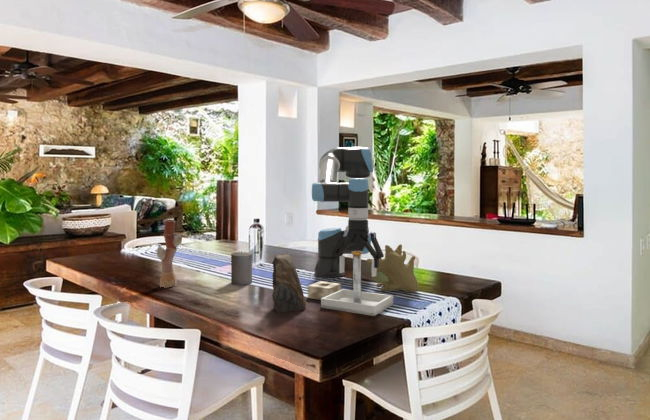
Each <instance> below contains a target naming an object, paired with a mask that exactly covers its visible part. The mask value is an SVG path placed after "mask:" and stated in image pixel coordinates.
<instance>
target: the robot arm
mask: <svg viewBox="0 0 650 420" xmlns="http://www.w3.org/2000/svg"><path fill="white" fill-rule="evenodd" d="M372 155H373V154H372V151H371V148H369V147H363V146H351V147H350V146H347V147H346V146H344V147H342V146H341V147H340V146H339V147H334V148H332V149H329V150H328V151H326V152H325V153H324V154H323V155H322V156H321V157H320V159H319V162H318V167H319V175H318V176H319V177H318V182H314V183H312V185H311V198H312V201H314V202H321V203H324V202H325V203H326V202H327V203H328V202H334V203H335V202H338V203H339V202H341V203H346V202H347V203H348V211H347V212H348V215H347V216H348V220H347V222H348V223H347V224H348V225H346V227H345V230H342V228H341V227H332V228H331V227H329V228H325V229H321V230H319V231H318V237H317V261H316V265H315V268H314V275H315V276H316V277H322V278H338V277H343V276H344V275H345V257H346V256H345V255H353V254H352V251H362V254H361V255H366V254H368V253H369V254H370V255H371V257H372V258H371V259H372V265H371V269H372V273H371V277H372V278H373V277H377V273H378V272H377V268H378V267H379V258H381V259H383V258H385V254H384V253H383V250H382V249H381V245H380V244H379V242H378V241H379V240H378V239H377V233H376V232H372V231H371V230H370V227H369V220H368V219H369V189H370V188H369V179H368V178H369V177H370V176H371V173H374V165H373V157H372ZM338 173H345V177H346V178H347V179H348V182H337V180H338ZM372 245H373V246H372ZM376 272H377V273H376Z"/></svg>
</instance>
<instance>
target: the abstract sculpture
mask: <svg viewBox="0 0 650 420" xmlns="http://www.w3.org/2000/svg"><path fill="white" fill-rule="evenodd" d="M162 223H163V224H164V229H163V238H164V241H165V248H164V247H162V246H157V249H156V256H157V258H158V259H159V260H160V261H161V276H160V281H159V288H161V287H164V288H163V289H170V288H169V287H172V288H175V287H177V285H178V281H177V278H176V274H175V272H174V268H173V267H174V266H173V260H174V257H175V255H176V252H177V251H178V250H177V248H178V247H179V246H180V245H181V244H182V241H183V236H182V234H180V233H179V234H176V235H175V229H176V220H173V219H163V220H162Z"/></svg>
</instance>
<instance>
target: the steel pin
mask: <svg viewBox="0 0 650 420" xmlns="http://www.w3.org/2000/svg"><path fill="white" fill-rule="evenodd" d="M351 255H352V283H353V284H352V286H353V287H352V290H353V302H354V303H360V304H361V291H362V255H363V254H362V251H352V254H351Z"/></svg>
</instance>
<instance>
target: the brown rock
mask: <svg viewBox="0 0 650 420" xmlns="http://www.w3.org/2000/svg"><path fill="white" fill-rule="evenodd" d="M271 264H272V266H273V271H272V289H273V291H272V295H271V296H272V297H271V298H272V301H273V310H274V311H275V312H276V313H279V314H281V313H288V312H296V311H298V312H299V311H303V310H307V307H306V300H305V295H304V290H303V287H302V284H301V281H300V277H299V275H298V271H297V268H296V266H295V264H294V262H293V259H292V257H291V255H290V254H289V253H284V254H276V255H275V256H274V258H273V260H272V263H271Z"/></svg>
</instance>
